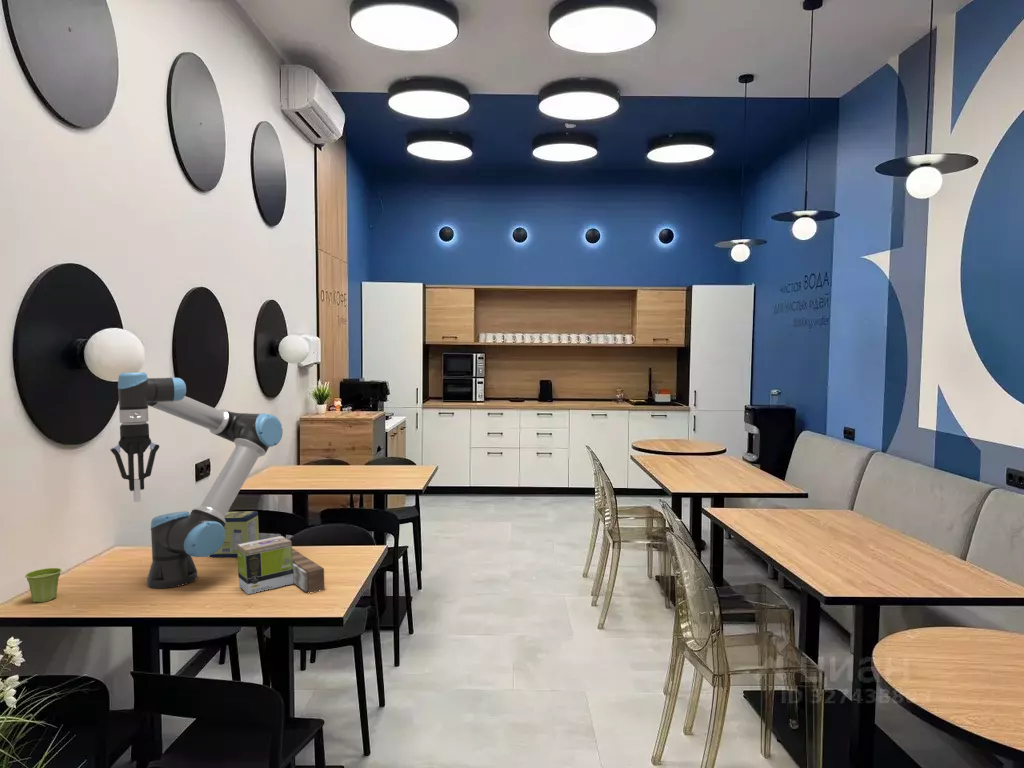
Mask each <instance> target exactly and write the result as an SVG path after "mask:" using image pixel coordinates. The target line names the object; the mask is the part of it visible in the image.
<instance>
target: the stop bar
mask: <svg viewBox="0 0 1024 768" xmlns="http://www.w3.org/2000/svg"><path fill="white" fill-rule="evenodd" d="M292 557H293V576H294V585H296V586H297V587H299V588H300V589H301V590H302V591H304V592H305V593H308V592H309V593H310V592H314V591H318V592H320V591H319V590H322V591H325V567H323V566H320V565H319V564H318V563H316V562H314V560H311V559H310V558H308V557H306V556H305V555H303V554H302V553H300V552H298V551H297V550H295V549H294V548H292ZM307 591H308V592H307ZM309 593H308V594H309ZM314 593H315V592H314ZM310 594H311V593H310Z"/></svg>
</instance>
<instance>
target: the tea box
mask: <svg viewBox="0 0 1024 768" xmlns="http://www.w3.org/2000/svg"><path fill="white" fill-rule="evenodd" d="M292 549H293V543H292V540H290V539H288V538H287V537H285V536H283V535H278V536H273V537H268V538H262V539H259V540H257V541H252V542H247V543H241V544H237V556H238V558H237V572H238V573H237V574H238V586H239V588H240V589H241V588H242V589H243V590H244V591H245V592H244V591H243V590H242V589H241V590H242V591H243V592H244V593H245V594H247V595H253V594H256V592H257V593H261V592H264V590H265V591H269V590H272V589H276V588H282V587H285V585H286V586H290V585H295V583H294V576H293V557H292ZM268 589H269V590H268ZM260 591H261V592H260Z"/></svg>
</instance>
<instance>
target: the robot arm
mask: <svg viewBox="0 0 1024 768" xmlns="http://www.w3.org/2000/svg"><path fill="white" fill-rule="evenodd" d="M117 389H118V406H119V407H118V408H119V409H118V411H119V415H118V416H119V423H121V424H120V425H119V436H120V437H119V438H120V439H119V441H118V444H117V445H115V446H114V447H111V448H110V449H109V450H110V452H111V453H112V454H113V455H114V457H115V460H116V464H117V467H118V470H119V473H120V476H121V478H122V479H123V480H128V485H129V486H128V489H129V492H132V493H133V501H134V502H135V503H138V502H141V501H142V500H141V499H142V498H141V496H142V495H141V491H143V490H144V489H145V479H146V478H147V477H151V476H152V472H153V471H152V470H153V468H154V467H153V466H154V463H155V459H156V454H157V452H158V450H159V448H160V445H159V444H157V443H154V442H152V439H151V438H150V427H149V426H150V425H149V423H148V422H149V407H150V408H153V409H156V410H159V411H161V412H164V413H167V414H169V415H172V416H173V417H177V418H179V419H182V420H185V421H186V422H187V421H188V422H189V423H193V424H194V425H196V426H197V425H198V426H200V427H203V428H204V429H205V428H206V429H208V430H209V432H210V433H211V434H212V435H214V436H215V435H216V436H217V437H220V438H222V439H225V440H227V441H229V442H231V443H234V445H235V447H234V449H233V450H232V452H231V454H230V456H229V457H228V459H227V460H226V462H225V464H224V466H223V468H222V469H221V470H220V472H219V474H218V475H217V477H216V479H215V481H214V482H213V484H212V485H211V487H210V489H209V491H208V492H207V495H206V496H205V497H204V499H203V501H202V502H201V504H200V506H198V507H196V508H193V509H192V510H191V512H189V511H187V510H186V511H185V510H183V511H177V512H171V513H170V512H169V513H165V514H161V515H157V516H154V517H153V518H152V519H151V523H150V532H151V533H150V534H151V535H150V536H151V539H150V540H151V556H152V558H151V559H152V562H151V564H150V568H149V572H148V575H147V577H146V585H148V586H149V587H148V586H147V587H148V588H151V587H152V589H167V588H166V587H170V588H174V587H173V586H176V587H179V586H178V585H181V586H183V585H182V584H185V585H187V584H186V583H188V584H190V583H192V582H194V581H196V580H197V579H198V570H197V569H198V568H197V566H196V565H195V562H194V560H193V558H207V557H209V556H210V555H212V554H214V553H215V552H217V551H218V550H219V549H220V548H221V546H222V545H223V543H224V540H225V534H224V533H225V529H224V527H225V525H226V521H225V515H226V514H227V512H229V510H230V508H231V506H232V505H233V503H234V501H235V499H237V496H238V494H239V492H240V491H241V489H242V487H243V486H244V483H245V482H246V481H247V479H248V477H249V475H250V473H251V471H252V470H253V467H254V466H255V464H256V463H257V460H258V459H259V458H260V457H263V456H265V455H266V453H267V452H268V451H269V448H272V447H274V446H277V445H279V443H280V442H281V440H282V437H283V428H282V423H281V421H280V419H279V418H278V417H277V416H275V415H273V414H269V413H265V412H264V413H263V412H262V413H248V412H247V413H246V412H245V413H243V412H242V413H241V412H233V411H229V410H226V409H217V408H215V407H213V406H210V405H207V404H206V403H203V402H200V401H198V400H196V399H193V398H192V397H188V396H186V395H187V386H186V382H185V381H184V379H182V378H180V377H173V376H172V377H171V376H170V377H153V378H152V377H150V378H149V377H148V373H146V372H144V371H142V372H140V371H139V372H121V373H120V374H119V375H118V379H117ZM148 448H149V450H150V451H149V455H148V459H147V464H146V467H145V465H144V464H145V462H144V453H145V452H146V450H147V449H148ZM121 449H122V450H123V451H124V452H125V453H126V455H127V467H128V469H127V471H128V474H127V472H126V469H125V466H124V463H123V459H122V457H121V454H120V453H121ZM136 454H137V472H138V478H135V462H134V459H135V458H134V457H135V456H134V455H136ZM144 467H145V468H144ZM196 578H197V579H196ZM195 579H196V580H195ZM193 580H194V581H193ZM191 581H192V582H191ZM189 582H190V583H189Z"/></svg>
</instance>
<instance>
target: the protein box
mask: <svg viewBox="0 0 1024 768" xmlns="http://www.w3.org/2000/svg"><path fill="white" fill-rule="evenodd" d="M225 521H226V525H225V527H224V529H225V533H224V534H225V540H224V543H223V545H222V546H221V548H220V549H219V550H218V551H217V552H215V553H214V554H212V555H210V556H208V557H212V558H214V559H215V558H217V559H219V558H221V559H222V558H224V559H226V558H228V559H229V558H230V559H231V558H233V559H235V558H236V559H238V556H237V544H241V543H247V542H252V541H257V540H260V534H259V533H260V531H259V530H260V529H259V512H258V511H255V510H253V511H252V510H251V511H250V510H249V511H228V512H227V514H226V515H225Z"/></svg>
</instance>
